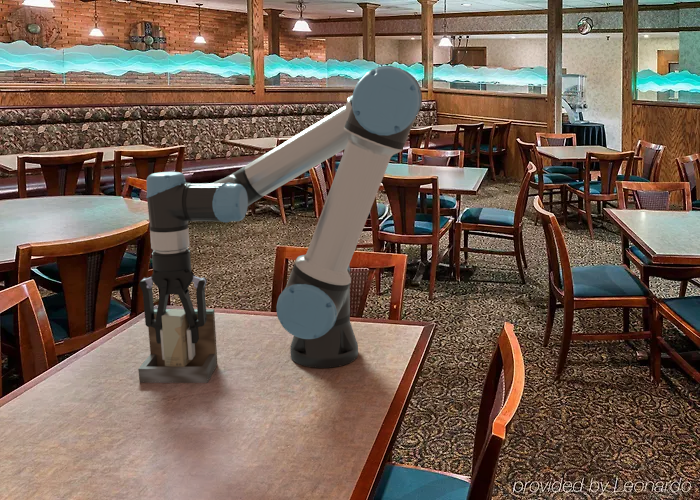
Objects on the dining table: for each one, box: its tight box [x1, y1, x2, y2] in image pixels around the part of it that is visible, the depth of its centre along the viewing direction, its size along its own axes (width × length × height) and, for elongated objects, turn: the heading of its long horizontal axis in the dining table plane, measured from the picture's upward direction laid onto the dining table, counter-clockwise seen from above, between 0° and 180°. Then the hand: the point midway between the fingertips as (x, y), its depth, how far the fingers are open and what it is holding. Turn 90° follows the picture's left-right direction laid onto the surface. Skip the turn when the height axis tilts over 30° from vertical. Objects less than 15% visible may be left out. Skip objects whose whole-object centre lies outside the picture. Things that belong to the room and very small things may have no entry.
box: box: [162, 308, 191, 367], centre depth 142 cm, size 5×4×11 cm
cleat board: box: [137, 308, 218, 384], centre depth 142 cm, size 14×10×13 cm
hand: (179, 357), depth 143 cm, fingers closed on box, 5 cm apart
